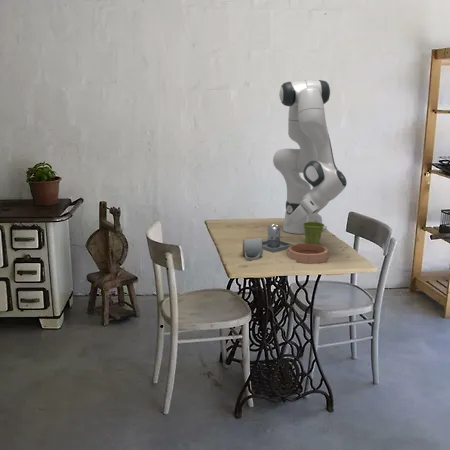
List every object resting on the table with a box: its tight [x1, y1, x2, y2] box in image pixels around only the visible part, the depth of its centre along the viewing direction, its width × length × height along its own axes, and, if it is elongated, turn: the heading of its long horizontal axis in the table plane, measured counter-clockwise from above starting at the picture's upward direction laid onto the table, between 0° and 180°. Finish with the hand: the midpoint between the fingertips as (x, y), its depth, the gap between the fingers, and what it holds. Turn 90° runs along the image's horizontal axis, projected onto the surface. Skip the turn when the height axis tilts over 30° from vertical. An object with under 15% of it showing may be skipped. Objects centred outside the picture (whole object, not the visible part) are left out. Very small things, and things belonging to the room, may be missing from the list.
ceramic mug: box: [242, 237, 264, 262], centre depth 233 cm, size 11×8×8 cm
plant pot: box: [303, 222, 325, 245], centre depth 253 cm, size 9×9×9 cm
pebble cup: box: [267, 223, 282, 249], centre depth 245 cm, size 5×5×10 cm
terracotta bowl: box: [286, 243, 329, 264], centre depth 234 cm, size 16×16×4 cm
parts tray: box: [263, 239, 295, 253], centre depth 246 cm, size 12×12×2 cm
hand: (289, 222), depth 241 cm, fingers open, 8 cm apart
